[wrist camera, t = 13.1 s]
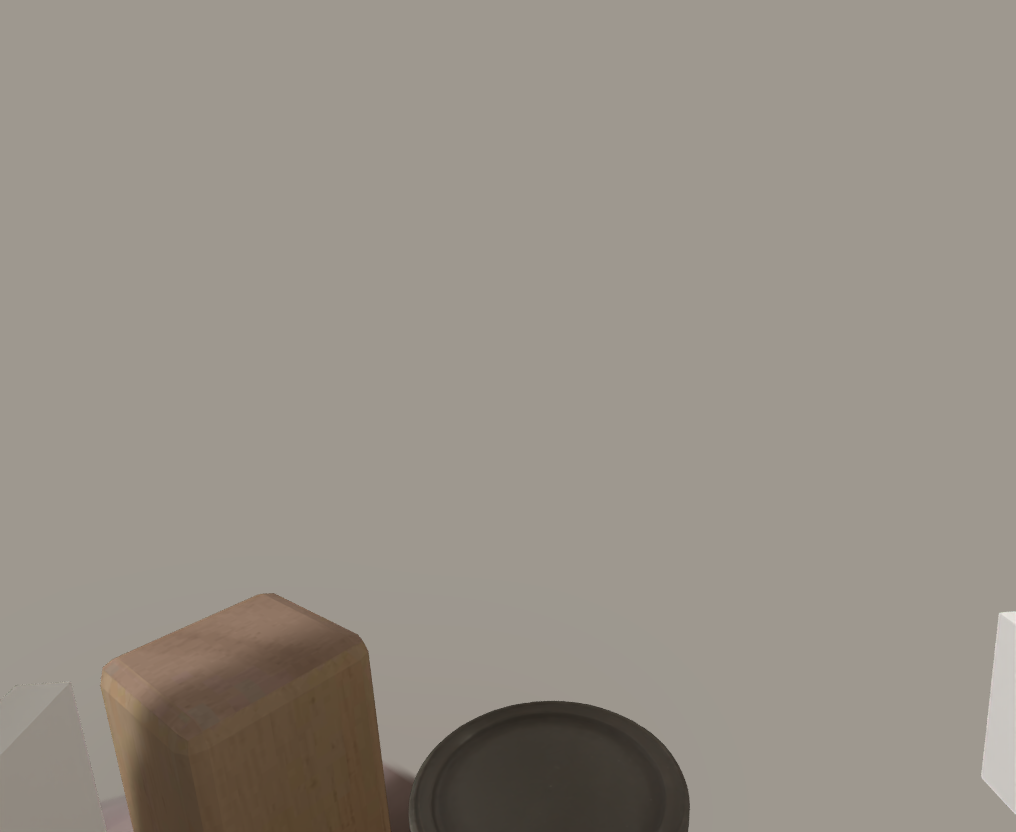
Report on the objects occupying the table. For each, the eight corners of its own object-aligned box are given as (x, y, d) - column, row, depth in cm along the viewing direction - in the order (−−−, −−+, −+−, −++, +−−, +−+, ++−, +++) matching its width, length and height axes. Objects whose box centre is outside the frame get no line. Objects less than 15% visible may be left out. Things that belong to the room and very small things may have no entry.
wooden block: (312, 856, 47) (268, 582, 43) (412, 944, 41) (374, 633, 36) (161, 975, 40) (88, 661, 35) (254, 1105, 34) (180, 742, 29)
